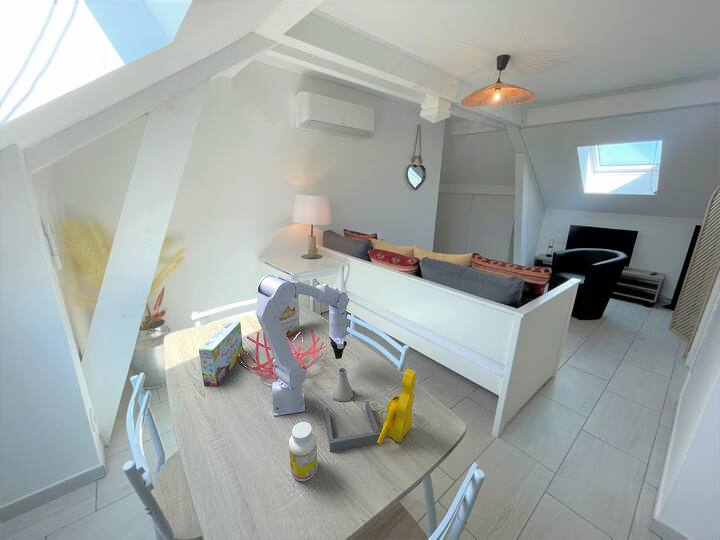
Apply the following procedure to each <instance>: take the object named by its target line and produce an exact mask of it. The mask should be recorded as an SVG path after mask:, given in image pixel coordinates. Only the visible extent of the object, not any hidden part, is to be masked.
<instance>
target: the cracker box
mask: <svg viewBox="0 0 720 540" xmlns="http://www.w3.org/2000/svg"><path fill="white" fill-rule="evenodd" d="M299 298H300V297H299V295H298V296H297V298H293V300H292V301H291V302H290V304H289V305H288V306H287V307H286V308H285V310H284V311H283V312H282V313H281V314H280V315H278V317H279V319H280V322H281V324H282V327H283V330H284V332H285V333H286V335H287V337H286V338H288V337H290V336H292V335H294V334H296V333H298V332H300V306H299V301H300V299H299Z"/></svg>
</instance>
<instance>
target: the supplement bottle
mask: <svg viewBox="0 0 720 540" xmlns="http://www.w3.org/2000/svg"><path fill="white" fill-rule="evenodd" d="M317 442H318V441H317V435H316V434H315V432H314V431H313V427H312V425H311V424H310V423H309V422H305V421H300V422H298V423H296V424H295V425H294V426H293V428H292V429H291V436H290V438H289V441H288V450H289V451H288V452H289V464H290V473H291V475H292V477H293V478H294V479H295V480H296V481H298V482H305V481H308V480H310V479H312V477H314V475H316V472H317V471H318V446H317V444H318V443H317Z"/></svg>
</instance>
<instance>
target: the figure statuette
mask: <svg viewBox="0 0 720 540" xmlns="http://www.w3.org/2000/svg"><path fill="white" fill-rule="evenodd" d="M416 380H417V372H416V371H414V370H413V369H410V368H406V370H405V371H404V373H403V377H402V380H401V393H400V394H398V395H396V396H393V397H392V398H391V399H390V401H389V402H387V406H386V409H385V410H386V411H385V412H386V415H385V416H386V417H385V420H384V421H383V426H382V429H381V432H380V436H379V439H378V441H377V444H379V445H382V444H383V442H384V439H385V437H386V436H387V438H388V437H389V438H391V439H392V440H394V441H396V442H398V443H399V444H400V443H402V441H403V439H404V438H405V436H406V435H407V434H408V432H409V431H410V429H411V427H412V425H413V404H414V401H415V395H414V392H415V385H416Z"/></svg>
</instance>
